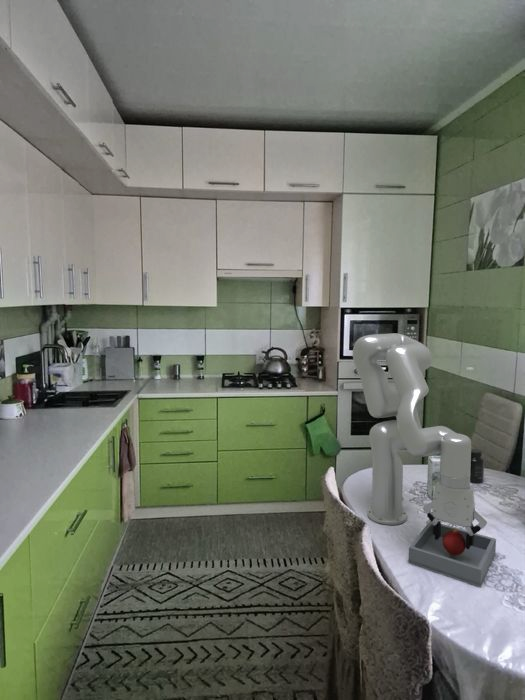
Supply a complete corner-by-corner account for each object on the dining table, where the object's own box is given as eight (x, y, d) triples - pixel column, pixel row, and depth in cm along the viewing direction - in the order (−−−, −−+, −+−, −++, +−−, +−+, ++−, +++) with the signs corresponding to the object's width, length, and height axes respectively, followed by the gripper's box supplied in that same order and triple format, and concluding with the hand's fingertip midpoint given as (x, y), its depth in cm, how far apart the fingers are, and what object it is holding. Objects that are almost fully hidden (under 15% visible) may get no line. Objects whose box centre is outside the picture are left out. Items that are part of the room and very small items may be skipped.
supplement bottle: (460, 478, 179) (461, 448, 178) (474, 475, 181) (475, 446, 180) (473, 484, 173) (474, 454, 172) (487, 482, 175) (488, 452, 174)
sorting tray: (429, 534, 138) (429, 520, 137) (495, 554, 127) (495, 538, 126) (408, 563, 123) (408, 547, 123) (480, 587, 113) (481, 570, 112)
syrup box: (443, 493, 166) (444, 455, 164) (448, 500, 160) (449, 460, 158) (426, 493, 167) (427, 454, 165) (431, 500, 161) (432, 460, 159)
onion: (457, 548, 128) (461, 523, 126) (467, 562, 122) (472, 535, 120) (437, 548, 127) (441, 522, 126) (446, 561, 122) (450, 535, 120)
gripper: (417, 477, 125) (416, 538, 127) (487, 492, 114) (484, 559, 116) (426, 468, 131) (425, 527, 133) (493, 482, 120) (490, 546, 122)
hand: (452, 541), depth 125 cm, fingers open, 7 cm apart
